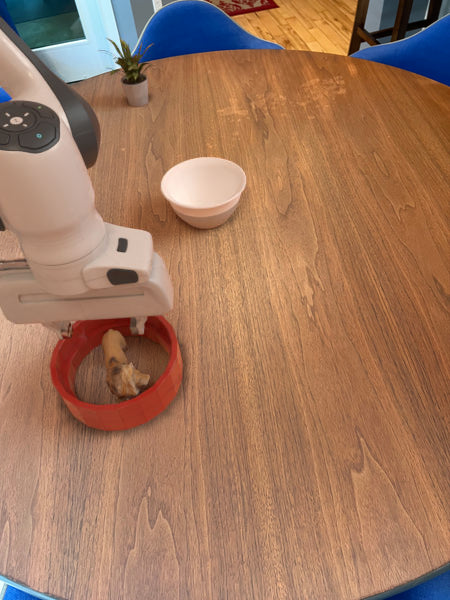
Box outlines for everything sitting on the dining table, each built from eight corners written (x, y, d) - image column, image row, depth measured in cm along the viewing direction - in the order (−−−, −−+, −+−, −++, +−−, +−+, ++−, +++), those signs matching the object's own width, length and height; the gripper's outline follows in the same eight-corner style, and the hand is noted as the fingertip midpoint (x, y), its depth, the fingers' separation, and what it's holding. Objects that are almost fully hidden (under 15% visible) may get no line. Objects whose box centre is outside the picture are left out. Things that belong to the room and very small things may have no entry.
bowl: (208, 256, 87) (203, 219, 81) (150, 221, 95) (142, 185, 88) (264, 212, 94) (264, 175, 88) (206, 183, 102) (202, 147, 96)
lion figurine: (161, 407, 67) (150, 372, 60) (126, 425, 65) (110, 392, 59) (123, 336, 76) (109, 298, 69) (91, 350, 74) (73, 313, 67)
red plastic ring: (54, 437, 66) (37, 414, 61) (75, 334, 77) (62, 308, 72) (182, 428, 65) (175, 405, 60) (184, 326, 77) (178, 300, 72)
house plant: (96, 107, 128) (78, 42, 116) (131, 85, 135) (118, 22, 123) (136, 120, 122) (121, 53, 110) (170, 96, 129) (160, 31, 117)
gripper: (-32, 283, 50) (18, 357, 61) (161, 270, 50) (178, 347, 60) (-15, 243, 54) (29, 319, 65) (164, 231, 54) (179, 309, 65)
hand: (102, 332), depth 63 cm, fingers open, 8 cm apart
